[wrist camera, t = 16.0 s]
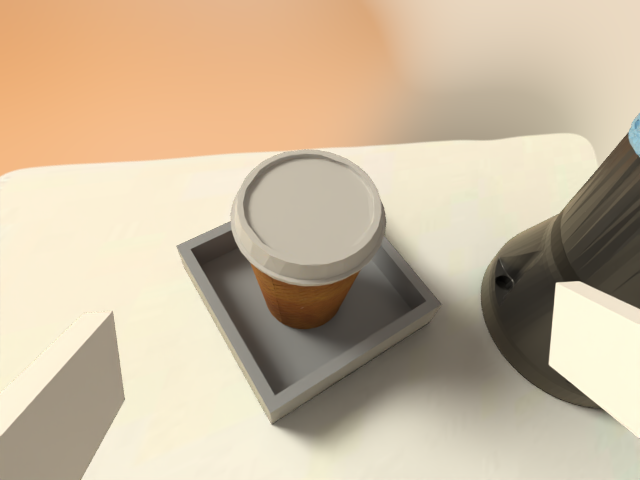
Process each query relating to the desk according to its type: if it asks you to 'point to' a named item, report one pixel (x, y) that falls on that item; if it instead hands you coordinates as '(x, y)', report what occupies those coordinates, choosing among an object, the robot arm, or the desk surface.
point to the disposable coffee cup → (307, 232)
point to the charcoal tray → (304, 344)
